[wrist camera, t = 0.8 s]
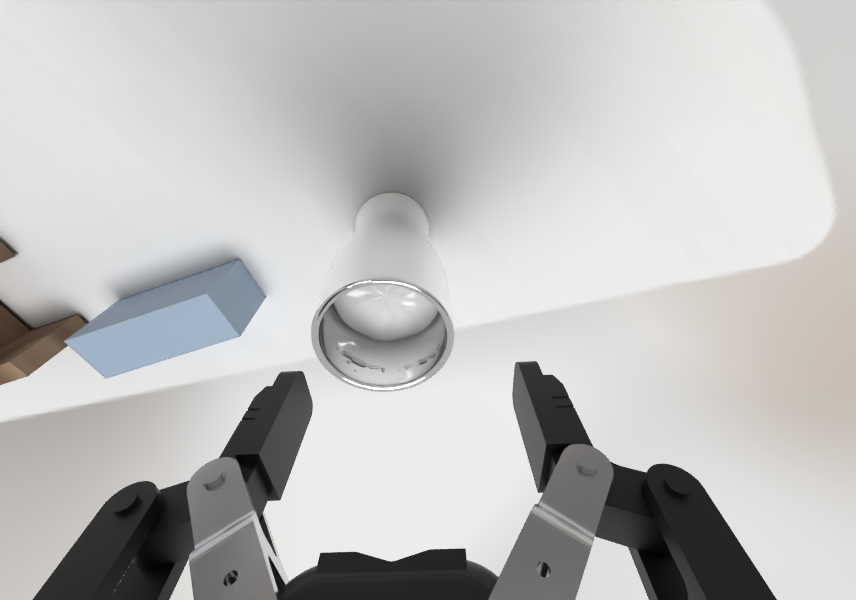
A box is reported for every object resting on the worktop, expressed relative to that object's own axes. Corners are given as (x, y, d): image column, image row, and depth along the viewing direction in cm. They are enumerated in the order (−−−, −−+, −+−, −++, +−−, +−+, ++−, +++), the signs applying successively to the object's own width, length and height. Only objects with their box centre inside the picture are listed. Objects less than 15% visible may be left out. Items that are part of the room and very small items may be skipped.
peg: (240, 258, 29) (206, 293, 24) (266, 296, 31) (240, 336, 26) (120, 299, 31) (63, 341, 26) (152, 333, 33) (105, 378, 28)
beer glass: (360, 272, 31) (330, 404, 18) (339, 193, 27) (283, 287, 14) (438, 260, 30) (464, 385, 18) (428, 180, 27) (451, 262, 14)
